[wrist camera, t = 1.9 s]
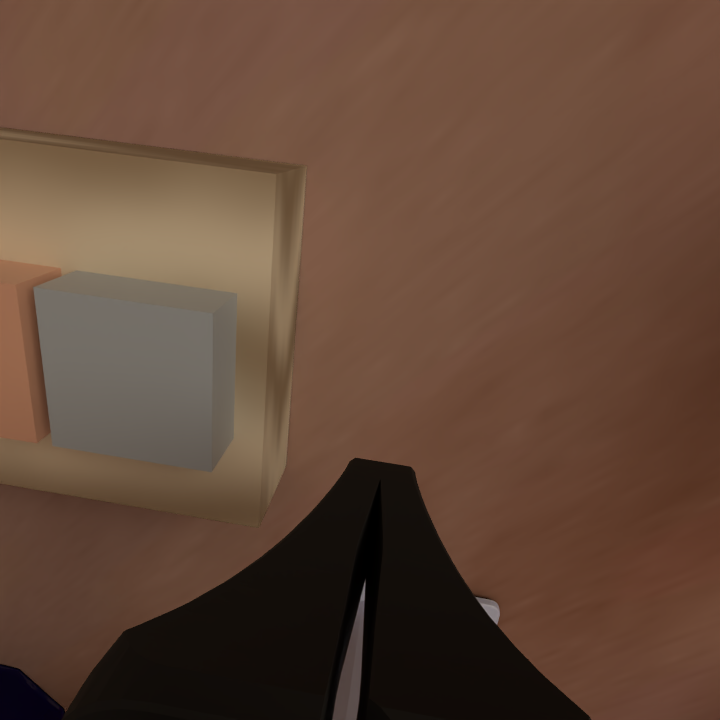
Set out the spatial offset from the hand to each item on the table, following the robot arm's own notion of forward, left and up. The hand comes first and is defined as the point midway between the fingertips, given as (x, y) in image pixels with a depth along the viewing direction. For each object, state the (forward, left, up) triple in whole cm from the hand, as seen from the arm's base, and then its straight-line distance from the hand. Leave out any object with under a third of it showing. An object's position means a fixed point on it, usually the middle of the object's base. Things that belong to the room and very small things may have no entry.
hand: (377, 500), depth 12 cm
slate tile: (0, +8, -5) cm, 9 cm away
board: (0, +11, -9) cm, 14 cm away
